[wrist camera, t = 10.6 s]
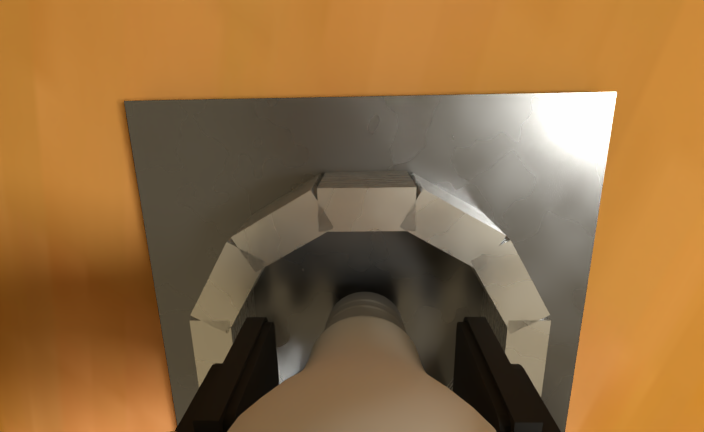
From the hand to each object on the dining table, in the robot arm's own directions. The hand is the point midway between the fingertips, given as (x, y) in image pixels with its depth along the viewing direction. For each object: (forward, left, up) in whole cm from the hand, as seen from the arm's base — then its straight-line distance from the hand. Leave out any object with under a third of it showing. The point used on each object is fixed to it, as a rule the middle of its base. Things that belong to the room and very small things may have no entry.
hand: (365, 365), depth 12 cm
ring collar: (0, 0, -4) cm, 4 cm away
